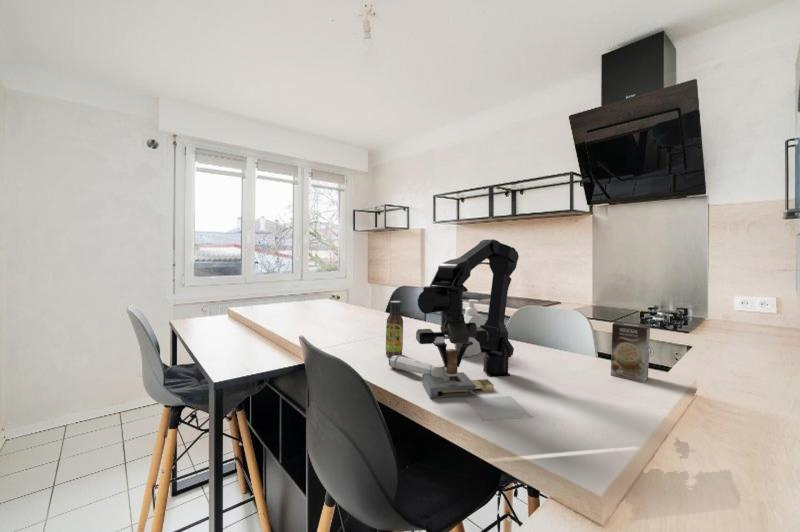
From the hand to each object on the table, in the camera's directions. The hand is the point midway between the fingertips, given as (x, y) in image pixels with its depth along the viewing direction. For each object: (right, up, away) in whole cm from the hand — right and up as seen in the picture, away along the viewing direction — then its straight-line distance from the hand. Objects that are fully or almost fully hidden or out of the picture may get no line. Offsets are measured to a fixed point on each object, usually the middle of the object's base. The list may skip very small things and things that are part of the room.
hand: (451, 366), depth 97 cm
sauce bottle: (-16, -6, +34) cm, 38 cm away
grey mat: (+10, -7, -10) cm, 16 cm away
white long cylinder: (-9, -7, +11) cm, 16 cm away
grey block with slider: (+2, -7, 0) cm, 7 cm away
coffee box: (+56, -7, +12) cm, 57 cm away
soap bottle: (+13, -6, +37) cm, 40 cm away
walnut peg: (0, -2, 0) cm, 2 cm away
